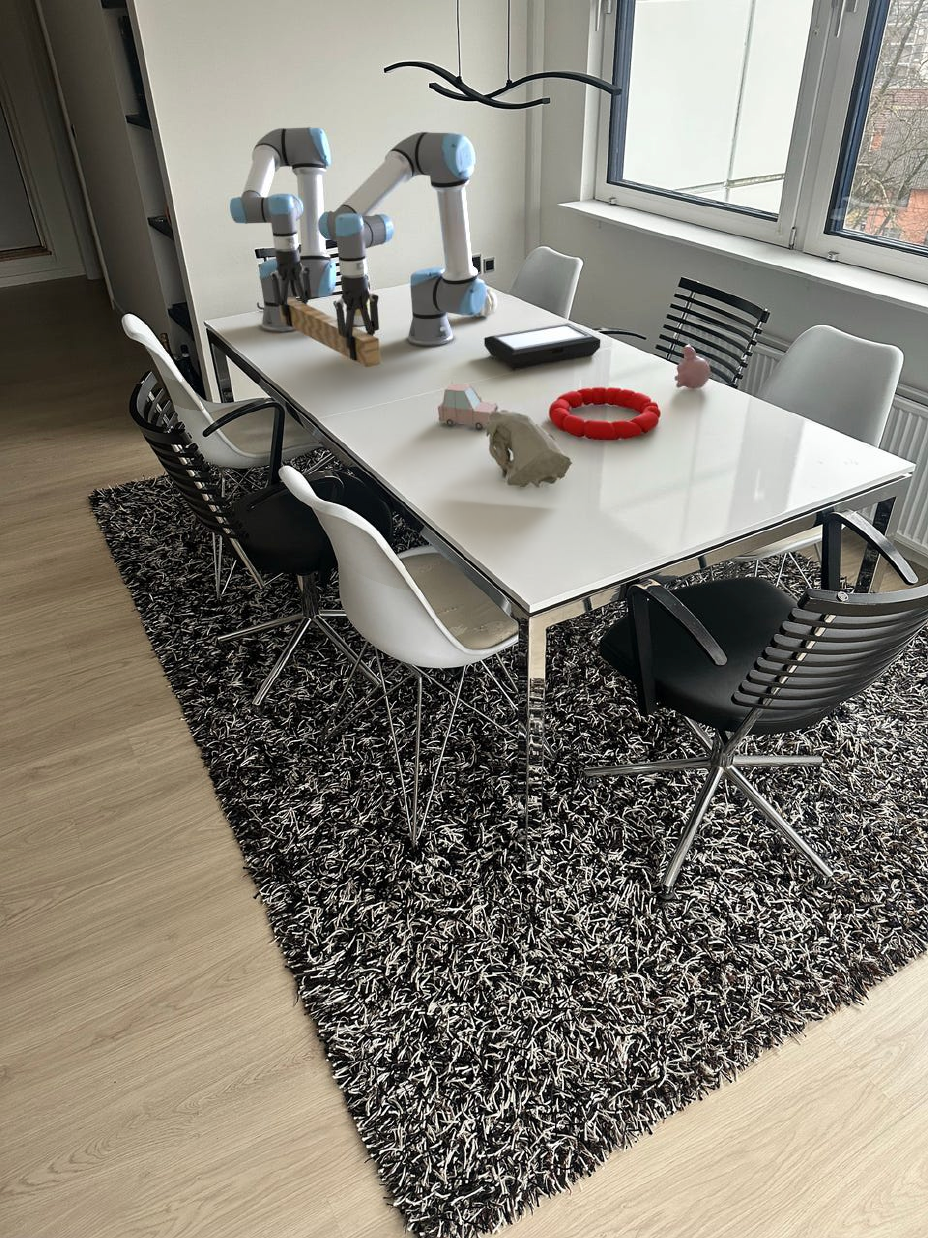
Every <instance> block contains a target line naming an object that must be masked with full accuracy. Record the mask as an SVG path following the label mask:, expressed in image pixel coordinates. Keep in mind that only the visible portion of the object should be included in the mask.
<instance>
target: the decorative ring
mask: <svg viewBox="0 0 928 1238" xmlns="http://www.w3.org/2000/svg"><path fill="white" fill-rule="evenodd" d="M583 405H584V406H586V407H587V406H591V405H593V406H604V405H608V406H614V407H619V408H624V409H628V410H632V411H635V412H636V413H638V414H639V415H637V416H635V417H632V418H631V419H630V420H625V419H624V420H623V419H622V420H614V421H611V422H609V421H607V420H606V421H605V420H593V419H587V420H586V421H585V419H584V418H582V417H579V416H577V415H573V414H571V413H570V410H571V409H579V408H581V407H582V406H583ZM548 416H549V419H550V422H551V423H552V425H553V426H554V427H555V428H556V429H558V430H559V431H561V432H563V433H567V434H568V435H569V436H573V437H576V438H580V439H582V438H583V437H585V438H586V439H587V440H591V441H601V442H602V441H603V442H608V441H609V442H610V441H611V442H612V441H615V442H616V441H618V440H630V439H634V438H638V437H641V436H642V434H647V433H650V432H651V431H653V430H654V429H655V428H656V427H657V426H658V424H659V422H660V421H659V420H660V417H661V410H660V408H659V405H658V403H657V402H656V401H652V399H651V397H649V396H648V395H646V394H644V393H642V392H635V391H634V390H632V389H628V388H624V389H622V388H620V387H613V386H612V387H611V386H610V387H608V388H606V387H604V386H594V387H585V388H584V387H583V388H580V389H578V390H571V391H568V392H565V393H563V394H561V395H560V396H558V397H557V398H556V400H554V401H552V403H551V404H550V407H549V409H548Z"/></svg>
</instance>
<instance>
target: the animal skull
mask: <svg viewBox="0 0 928 1238" xmlns="http://www.w3.org/2000/svg"><path fill="white" fill-rule="evenodd" d="M485 436H486V438H487V437H489V438H488V440H489V444H488V445H489V446H488V450H489V454H490V456H491V457H492V458H493V459H494V460H495V462H496V464H497V466H499V468H500V470H501V471H502V472H501V478H502V479H507V480H506V484H507V486H517V487H518V486H519V488H523V489H524V488H526V486H527V485H529V483H531V485H533V486H534V487H536V488H540V485H541V484H542V482H544V483H549V484H550V485H553V484H555V483H556V482H557V480H561V479H563V478H565V476H566V474H567V472H568V471H569V469H570V467H571V466H572V464H573V462H572V461H571V458H570V457H568V456H567V455H565V453H564V451H562V449H561V448H560V446H559V444H557V443H556V439H555V438H554V436H553V435H551V434H550V433H548V432H547V431H546V430H545V429H544V428H542V427H541V426H539V425H538V424H537V423H536V424H535V422H534V421H533V419H532V418H531V417H530V416H529V415H527V414H524V413H519V412H515V411H509V410H507V409H502V410H500V411H499V410H497V411H496V412H492V413H491V414H490V422H488V423H487V427H486V435H485ZM511 453H512V454H511ZM511 455H512V457H513V458H512V460H511ZM507 474H508V475H507Z"/></svg>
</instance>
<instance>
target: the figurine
mask: <svg viewBox="0 0 928 1238" xmlns="http://www.w3.org/2000/svg"><path fill="white" fill-rule="evenodd" d="M682 354H683V358H684V359H683V361H682V362H679V363H678V364H677V365H676V372H677V375H675V376H674V381H675V382H676V381H677V382H676V384H675V386H676V388H681V387H686V388H688V389H693V390H694V389H695V390H696V389H700V388H703V387H704V386H705V385H706V384H707V383H708V382H709V379H710V377H711V367H710V364H709V362H708V361H706V359H704V358H702V357H700V356H697V353H696V350H695V349H694V347H692V345H690V344H686V345H685V346H684V347H683V348H682Z"/></svg>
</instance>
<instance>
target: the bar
mask: <svg viewBox="0 0 928 1238" xmlns="http://www.w3.org/2000/svg"><path fill="white" fill-rule="evenodd" d="M300 301H301V300H298V299H297V298H296V299H294V298H292V297H289V298H287V305H289V306H290V314H291V321H292V326H291V327H292V328H293V329H295V330H294V331H298V332H299V333H301V334H303V335H305V336H307V337H309V338H311V339H312V340H314V341H316V342H318V343H320V344H322V345H324V346H326V347H328V348H329V349H331V350H333V351H335V352H337V353H338V354H341V355H342V356H344V357H347V358H348V359H350V351H349V349H348V348H347V346H346V338H345V337H342V336H340V335H339V331H338V322H337V317H334V316H332V315H329V314H328V313H325V312H324V311H321V310H319V309H317V308H315V307H314V306H313V307H312V306H310V305H308V304H307V305H306V304H304V303H302V302H300ZM279 308H280V315H281V322H282V323H284V324H286V318H285V316H283V314H282V307H281V305H279ZM345 325H346V322H345ZM352 337H354V338H355V345H356V356H357V361H355V362H356V363H357V364H359V365H361V366H363V367H365V368H371V367H375V366H379V365H381V352H380V340H379V338H378V337H376V336H374V335H373V336H372V335H370V334H368V333H367V332H366V331H363V330H361V329H360V328H357V327H355V326H353V333H352Z"/></svg>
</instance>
